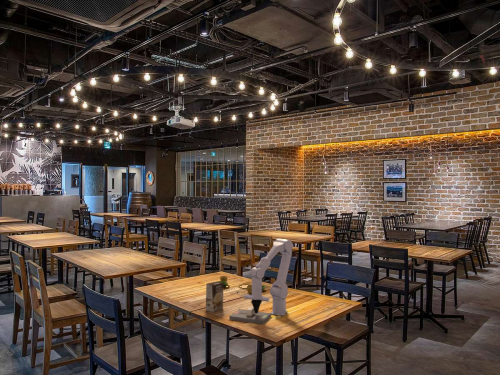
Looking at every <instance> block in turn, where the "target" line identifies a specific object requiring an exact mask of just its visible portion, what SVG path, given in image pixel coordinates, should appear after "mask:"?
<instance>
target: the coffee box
mask: <svg viewBox="0 0 500 375" xmlns="http://www.w3.org/2000/svg"><path fill="white" fill-rule="evenodd" d="M205 284H206V285H205V286H206V287H205V288H206V289H205V311H207V312H211V313H214V312H217V311H221V310H224V289H223V287H224V283H222V282H217V281H212V282H209V283H205Z"/></svg>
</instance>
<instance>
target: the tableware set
mask: <svg viewBox="0 0 500 375" xmlns="http://www.w3.org/2000/svg"><path fill="white" fill-rule="evenodd" d="M216 282H222V283H224V287H223V290H224V292H228V290H229V291H231V290H232V289H233V288H234V289H233V290H236V289H235V288H236V287H233V288H230V287H231V286H230V285H229V282H228V276H227V275H222V276H219V280H217V281H216ZM242 285H248V286H247V288H243V290H247V292H245V291H242V290H237V291H238V293H237V291H234V292H235V293H234V292H230V294H231V295H236V294H237V296H240V297H244V296H245V295H249V294H250V293H252V283H244V284H238V288H239V287H240V286H242ZM226 286H228V287H226ZM241 288H242V287H240V288H239V289H241ZM266 288H267V287H266V285H264V284H262V292H264V290H265V289H266ZM230 289H231V290H230ZM241 291H242V293H241ZM239 293H241V294H239Z"/></svg>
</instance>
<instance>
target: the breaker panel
mask: <svg viewBox="0 0 500 375" xmlns="http://www.w3.org/2000/svg"><path fill="white" fill-rule="evenodd" d="M270 318H272V314H271V312H265V311H264V312H262V311H258V313H254V314H253V315H252V316H248V315H246V309H240V308H239V309H238V310H236V311H234V312H233V313H232V314H230V315H229V320H231V321H237V322H238V321H239V322H244V323H245V322H246V323H250V324H251V323H252V324H259V325H264V324H265V323H266V322H267V321H268V320H269V319H270Z"/></svg>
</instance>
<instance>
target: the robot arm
mask: <svg viewBox="0 0 500 375" xmlns="http://www.w3.org/2000/svg"><path fill="white" fill-rule="evenodd" d="M272 243H273V245H272V247H271V248H270V250H269V251H268V252H267V254H266V256H264V257H261V258H260V261H259V262H258V263H256V265H255V267H252V268H251V269H250V271H249V275H250V279H251V284H252V294H246V295H244V296H243V298H244V300H250V303H251V305H252V307H253V308H254V312H255V313H258V312H260V311H259V310H260V306H261V304H262V302H268V303H269V302H270V297H267V296H263V293H262V292H263V291H262V285H263V277H264V276H265V272H266V270H267V269H268V268H269V267H270V265H271V261H272V259H274V257H275V256H276V255H277V254H278V253H280V255H281V259H280V264H279V266H278V267H279V268H278V271H277V277H276V280H275V281H273V283H272V285H271V287H270V289H269V294H270V296H271V298H272V311H271V312H270V313H271V315H275V316H282V317H283V316H285V314H286V313H287V312H288V310H287V304H286V303H287V300H286V298H287V297H288V293H289V292H288V285H287V284H286V282H287V277H288V272H289V268H290V264H291V258H292V255H293V253H292V252H293V246H294V244H293V242H292V241H291V240H290V239H283V238H276V239H275V241H274V242H272Z"/></svg>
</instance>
